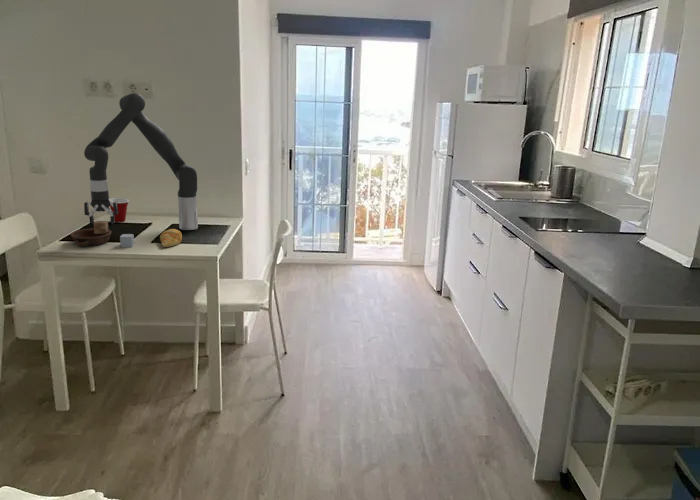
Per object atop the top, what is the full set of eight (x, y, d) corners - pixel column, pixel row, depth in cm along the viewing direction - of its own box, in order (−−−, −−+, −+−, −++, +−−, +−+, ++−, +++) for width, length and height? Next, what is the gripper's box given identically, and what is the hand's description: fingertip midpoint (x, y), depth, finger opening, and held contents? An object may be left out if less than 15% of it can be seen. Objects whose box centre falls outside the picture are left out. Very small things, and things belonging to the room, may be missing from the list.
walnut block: (108, 231, 264) (107, 220, 263) (105, 233, 260) (105, 223, 258) (97, 231, 263) (96, 220, 262) (94, 233, 259) (93, 223, 257)
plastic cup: (123, 223, 299) (121, 201, 296) (105, 222, 301) (103, 200, 298) (134, 219, 309) (133, 198, 306) (117, 218, 311) (115, 197, 308)
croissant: (171, 256, 257) (178, 241, 255) (151, 245, 255) (158, 231, 253) (183, 243, 277) (190, 229, 275) (165, 233, 276) (171, 220, 274)
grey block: (134, 244, 261) (133, 234, 260) (132, 247, 256) (131, 236, 255) (123, 244, 260) (122, 234, 259) (120, 247, 255) (119, 236, 254)
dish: (60, 247, 252) (59, 237, 251) (86, 236, 273) (85, 226, 272) (98, 249, 251) (97, 239, 249) (121, 238, 272) (120, 228, 271)
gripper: (117, 188, 261) (120, 222, 265) (85, 188, 258) (88, 222, 263) (113, 191, 254) (116, 225, 258) (80, 190, 251) (84, 225, 256)
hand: (102, 223), depth 260 cm, fingers open, 8 cm apart
